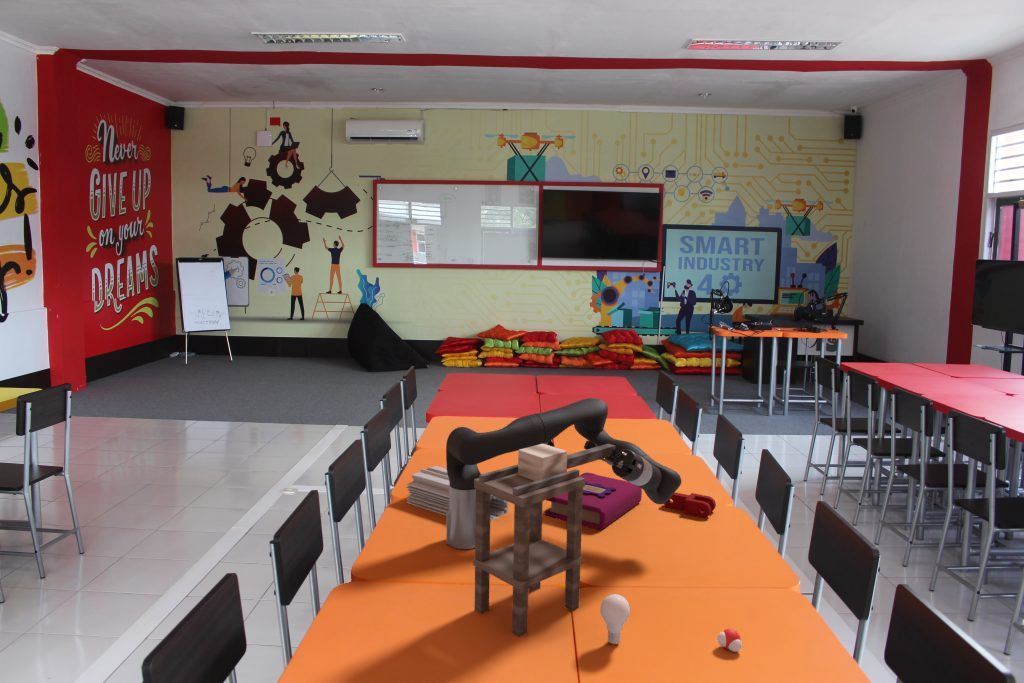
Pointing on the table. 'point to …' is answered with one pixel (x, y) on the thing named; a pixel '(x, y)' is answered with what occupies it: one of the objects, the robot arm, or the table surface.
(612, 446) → the wooden mallet
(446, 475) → the stack of papers
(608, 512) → the book
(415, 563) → the table surface
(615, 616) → the lightbulb
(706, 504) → the mechanical linkage
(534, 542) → the shelf stand
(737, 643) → the molecule
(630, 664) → the table surface
